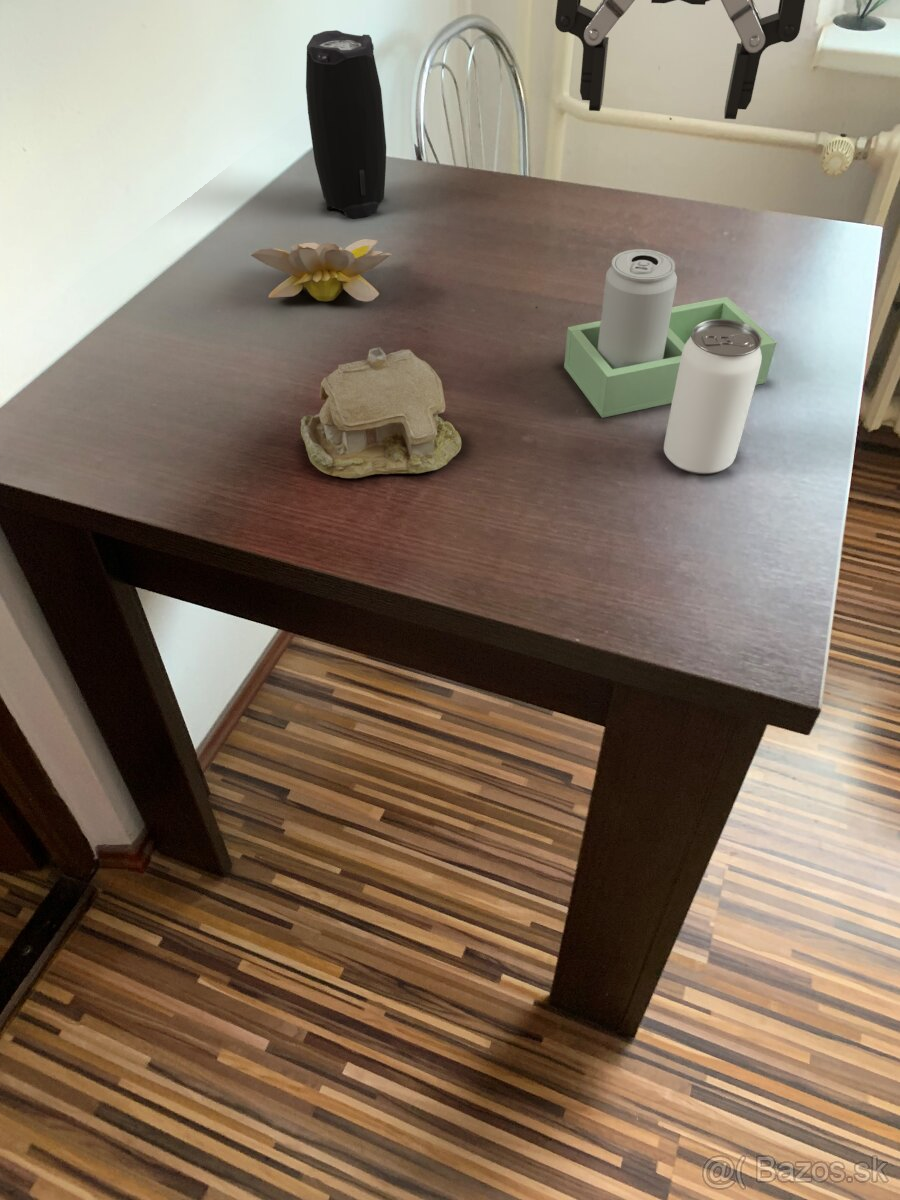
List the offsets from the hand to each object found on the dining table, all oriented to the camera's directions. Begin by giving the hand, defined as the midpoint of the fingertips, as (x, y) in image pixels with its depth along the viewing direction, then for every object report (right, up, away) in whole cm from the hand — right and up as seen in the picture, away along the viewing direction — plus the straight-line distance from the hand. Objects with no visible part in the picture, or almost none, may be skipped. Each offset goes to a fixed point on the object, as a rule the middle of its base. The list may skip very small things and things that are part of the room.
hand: (662, 111), depth 57 cm
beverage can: (+4, -9, +31) cm, 33 cm away
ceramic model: (-20, -17, +26) cm, 37 cm away
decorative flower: (-27, +4, +46) cm, 53 cm away
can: (+9, -18, +24) cm, 32 cm away
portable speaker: (-26, +21, +62) cm, 70 cm away
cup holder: (+8, -9, +33) cm, 35 cm away
